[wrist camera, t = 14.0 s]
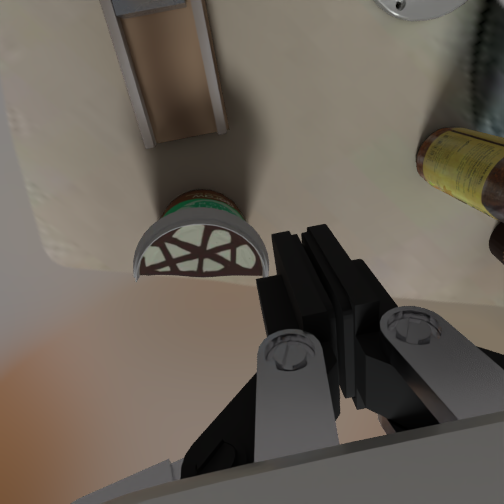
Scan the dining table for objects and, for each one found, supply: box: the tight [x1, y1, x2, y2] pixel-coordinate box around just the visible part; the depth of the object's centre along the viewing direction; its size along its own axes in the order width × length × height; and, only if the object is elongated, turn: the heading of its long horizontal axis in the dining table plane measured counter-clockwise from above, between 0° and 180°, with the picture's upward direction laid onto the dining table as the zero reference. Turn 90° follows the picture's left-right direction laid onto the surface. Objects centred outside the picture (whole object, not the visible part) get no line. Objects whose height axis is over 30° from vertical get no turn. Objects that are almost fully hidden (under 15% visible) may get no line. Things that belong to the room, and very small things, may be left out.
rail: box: [99, 0, 229, 149], centre depth 29 cm, size 8×17×3 cm, turn 9°
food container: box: [133, 189, 269, 282], centre depth 34 cm, size 12×6×10 cm, turn 85°
